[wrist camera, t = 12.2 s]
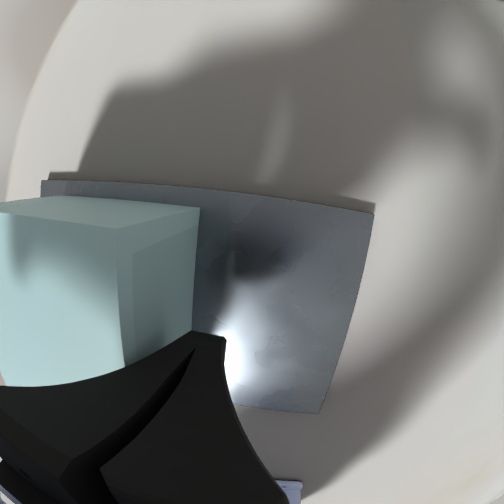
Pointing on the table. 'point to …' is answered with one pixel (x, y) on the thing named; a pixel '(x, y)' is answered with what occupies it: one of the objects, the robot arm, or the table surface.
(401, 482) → the table surface
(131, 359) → the cover
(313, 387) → the base plate
